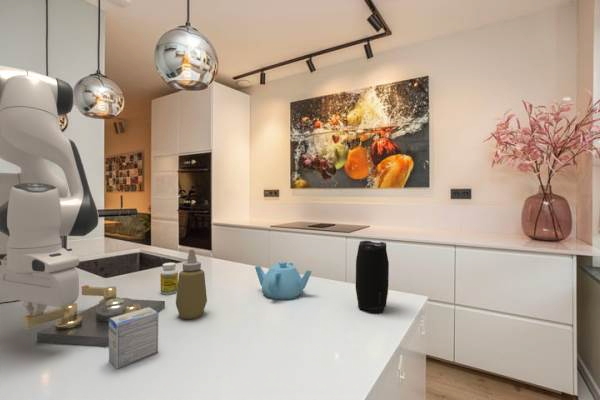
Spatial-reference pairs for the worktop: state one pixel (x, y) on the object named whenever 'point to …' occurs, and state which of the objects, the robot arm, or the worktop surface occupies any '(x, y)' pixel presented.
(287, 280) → the teapot
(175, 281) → the supplement bottle
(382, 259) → the portable speaker
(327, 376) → the worktop surface
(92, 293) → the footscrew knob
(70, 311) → the lever
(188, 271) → the squeeze bottle
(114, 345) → the medicine box
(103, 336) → the levelling base
